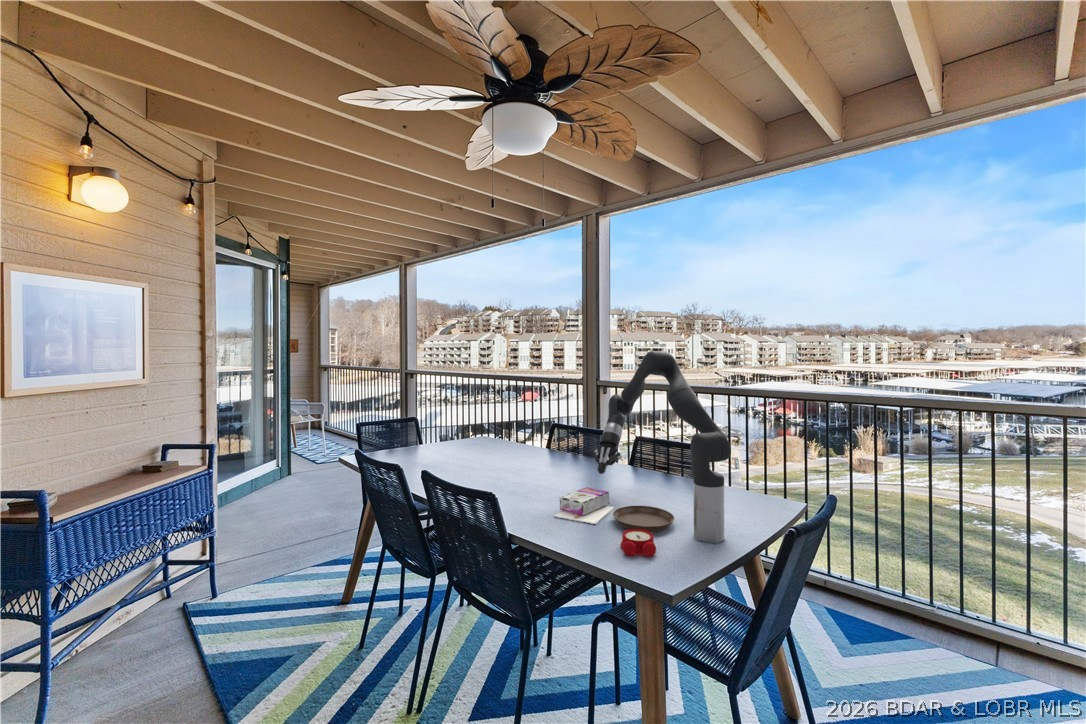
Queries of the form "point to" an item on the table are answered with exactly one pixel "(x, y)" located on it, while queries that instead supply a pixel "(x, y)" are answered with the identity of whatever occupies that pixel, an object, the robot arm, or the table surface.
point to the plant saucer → (643, 518)
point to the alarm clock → (638, 542)
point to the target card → (587, 515)
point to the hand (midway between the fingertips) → (600, 472)
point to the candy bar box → (584, 501)
